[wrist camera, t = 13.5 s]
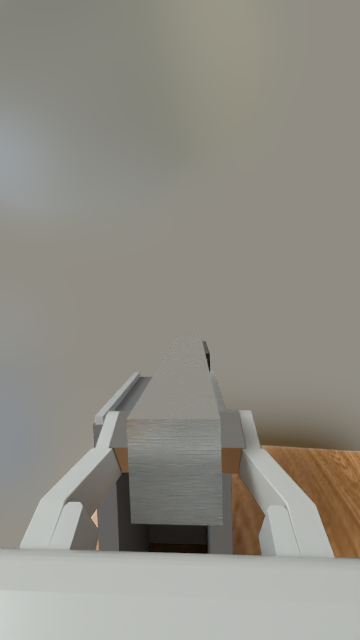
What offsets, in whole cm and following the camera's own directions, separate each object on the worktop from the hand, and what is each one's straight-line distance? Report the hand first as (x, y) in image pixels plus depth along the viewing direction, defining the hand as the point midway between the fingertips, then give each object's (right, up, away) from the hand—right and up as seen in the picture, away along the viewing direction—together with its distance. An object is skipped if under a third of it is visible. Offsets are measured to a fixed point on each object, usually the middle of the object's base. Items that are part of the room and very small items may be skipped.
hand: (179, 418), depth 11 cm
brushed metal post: (+1, -2, +9) cm, 9 cm away
